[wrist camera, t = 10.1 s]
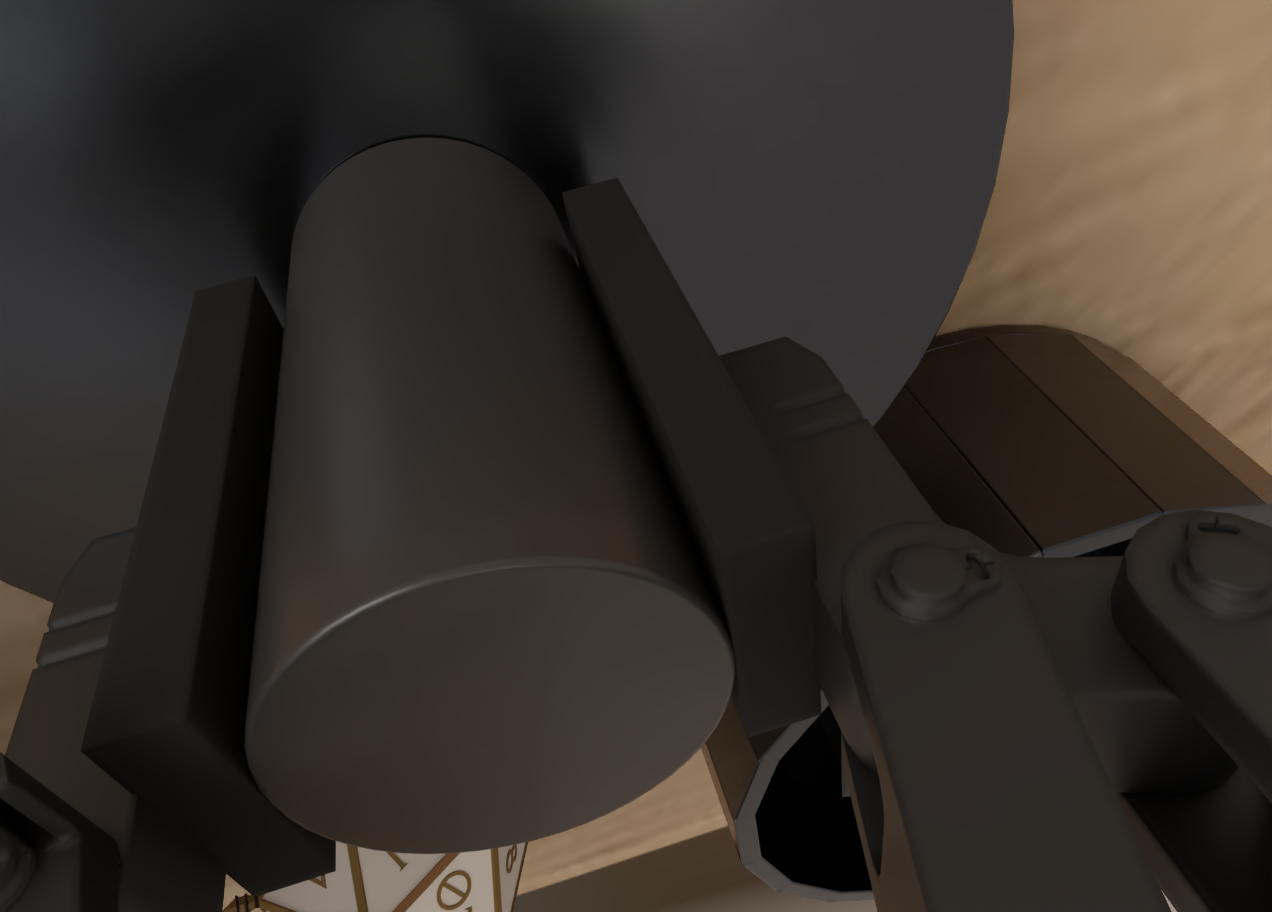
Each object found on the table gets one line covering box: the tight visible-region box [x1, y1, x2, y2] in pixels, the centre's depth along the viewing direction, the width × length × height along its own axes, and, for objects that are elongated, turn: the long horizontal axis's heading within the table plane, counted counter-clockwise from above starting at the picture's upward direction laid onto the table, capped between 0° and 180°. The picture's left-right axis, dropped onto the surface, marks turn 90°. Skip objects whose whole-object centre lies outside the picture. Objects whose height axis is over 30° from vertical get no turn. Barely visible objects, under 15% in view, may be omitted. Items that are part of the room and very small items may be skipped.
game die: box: [222, 841, 528, 912], centre depth 26 cm, size 9×8×10 cm
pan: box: [701, 326, 1272, 902], centre depth 27 cm, size 18×18×8 cm
